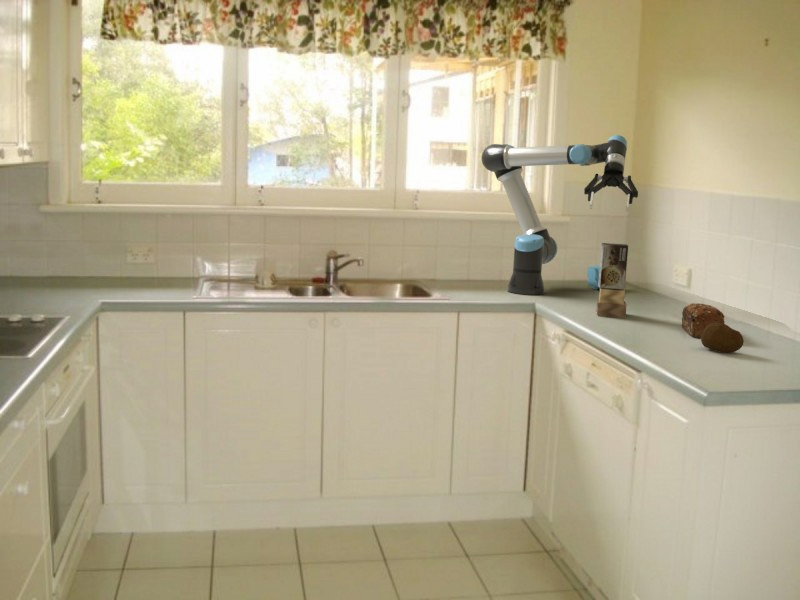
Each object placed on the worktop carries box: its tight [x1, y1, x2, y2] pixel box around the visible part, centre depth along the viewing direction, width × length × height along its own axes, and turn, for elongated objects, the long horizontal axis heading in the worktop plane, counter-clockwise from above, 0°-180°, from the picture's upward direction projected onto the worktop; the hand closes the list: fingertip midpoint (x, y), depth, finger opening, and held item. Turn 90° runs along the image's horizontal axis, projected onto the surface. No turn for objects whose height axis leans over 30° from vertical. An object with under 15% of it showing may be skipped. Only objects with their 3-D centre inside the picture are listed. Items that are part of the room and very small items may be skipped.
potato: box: [700, 323, 745, 354], centre depth 270 cm, size 8×12×9 cm
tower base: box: [595, 298, 627, 319], centre depth 325 cm, size 10×10×5 cm
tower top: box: [598, 288, 626, 305], centre depth 324 cm, size 8×8×5 cm
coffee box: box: [598, 242, 629, 290], centre depth 322 cm, size 9×6×16 cm
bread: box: [681, 302, 726, 339], centre depth 297 cm, size 19×11×10 cm, turn 172°
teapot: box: [587, 265, 600, 290], centre depth 385 cm, size 16×18×11 cm
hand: (608, 207), depth 339 cm, fingers open, 13 cm apart
